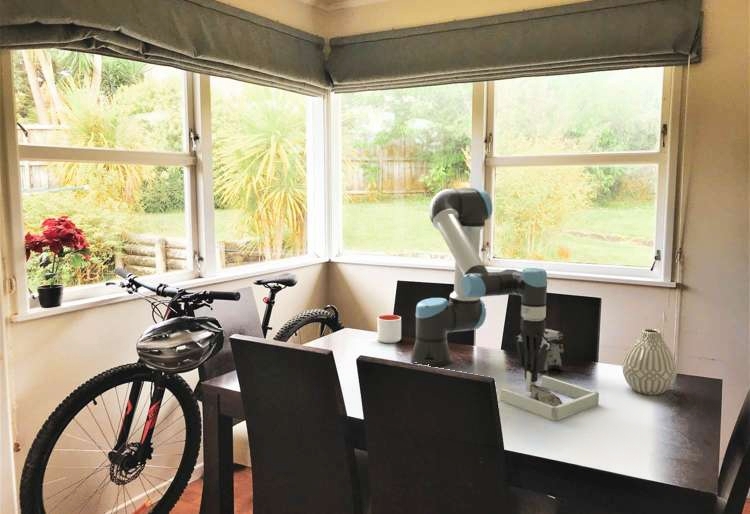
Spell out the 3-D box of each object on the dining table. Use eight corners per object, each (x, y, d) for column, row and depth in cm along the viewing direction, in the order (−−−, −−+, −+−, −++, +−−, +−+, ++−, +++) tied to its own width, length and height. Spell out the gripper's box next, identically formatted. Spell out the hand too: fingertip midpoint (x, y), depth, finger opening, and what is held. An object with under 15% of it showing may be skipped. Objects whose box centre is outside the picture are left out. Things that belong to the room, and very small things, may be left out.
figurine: (539, 363, 225) (540, 323, 223) (565, 371, 215) (567, 330, 213) (523, 367, 219) (524, 327, 217) (549, 376, 210) (550, 334, 208)
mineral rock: (566, 414, 176) (567, 400, 176) (539, 414, 177) (540, 400, 176) (553, 396, 191) (554, 383, 191) (528, 396, 191) (528, 383, 191)
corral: (500, 400, 188) (500, 388, 187) (543, 385, 200) (543, 375, 200) (554, 421, 171) (555, 409, 171) (598, 404, 184) (598, 392, 184)
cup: (375, 343, 252) (375, 319, 250) (379, 337, 262) (379, 314, 260) (399, 344, 250) (399, 320, 249) (402, 337, 260) (402, 315, 259)
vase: (613, 391, 195) (616, 331, 193) (631, 378, 207) (635, 322, 204) (665, 403, 184) (669, 340, 182) (681, 390, 196) (685, 330, 193)
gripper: (508, 316, 191) (506, 387, 194) (542, 324, 181) (539, 399, 184) (524, 312, 195) (522, 382, 199) (558, 320, 185) (555, 394, 188)
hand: (530, 390), depth 191 cm, fingers closed
